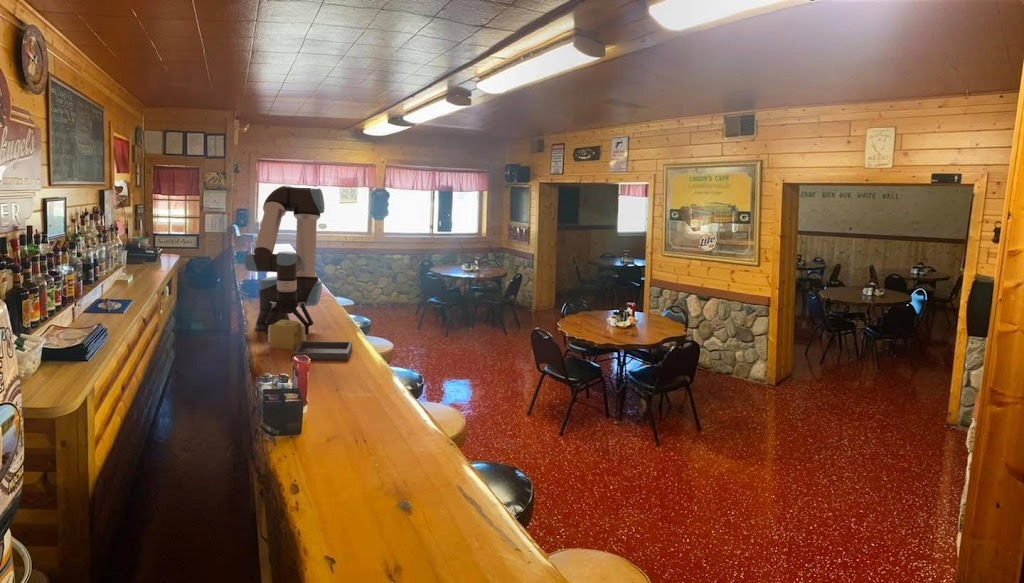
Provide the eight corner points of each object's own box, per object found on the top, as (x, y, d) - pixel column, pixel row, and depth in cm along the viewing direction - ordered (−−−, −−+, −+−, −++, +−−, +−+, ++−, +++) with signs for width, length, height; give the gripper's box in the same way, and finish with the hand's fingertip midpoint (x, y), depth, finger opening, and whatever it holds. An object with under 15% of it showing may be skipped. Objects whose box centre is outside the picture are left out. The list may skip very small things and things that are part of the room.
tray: (301, 348, 261) (301, 341, 261) (352, 348, 264) (352, 341, 264) (293, 360, 244) (293, 352, 243) (347, 360, 247) (347, 353, 246)
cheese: (305, 344, 268) (305, 320, 266) (293, 350, 257) (293, 326, 256) (281, 342, 269) (280, 319, 267) (268, 348, 258) (268, 324, 257)
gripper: (252, 291, 254) (252, 343, 257) (317, 292, 258) (317, 344, 261) (256, 288, 261) (257, 339, 264) (320, 289, 265) (320, 340, 268)
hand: (287, 342), depth 263 cm, fingers open, 13 cm apart
